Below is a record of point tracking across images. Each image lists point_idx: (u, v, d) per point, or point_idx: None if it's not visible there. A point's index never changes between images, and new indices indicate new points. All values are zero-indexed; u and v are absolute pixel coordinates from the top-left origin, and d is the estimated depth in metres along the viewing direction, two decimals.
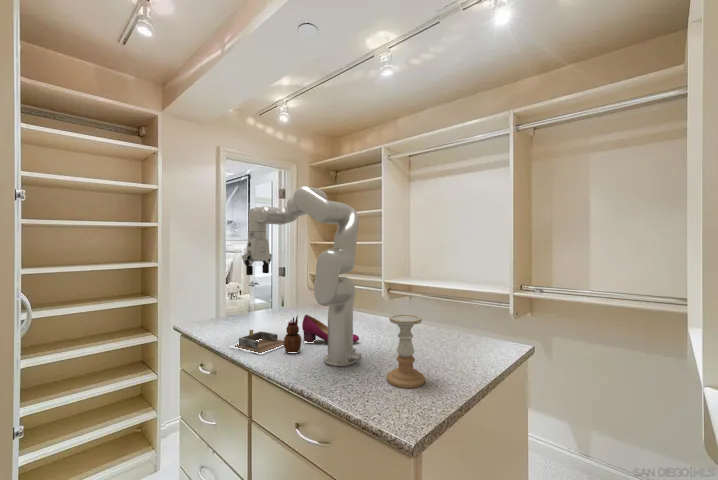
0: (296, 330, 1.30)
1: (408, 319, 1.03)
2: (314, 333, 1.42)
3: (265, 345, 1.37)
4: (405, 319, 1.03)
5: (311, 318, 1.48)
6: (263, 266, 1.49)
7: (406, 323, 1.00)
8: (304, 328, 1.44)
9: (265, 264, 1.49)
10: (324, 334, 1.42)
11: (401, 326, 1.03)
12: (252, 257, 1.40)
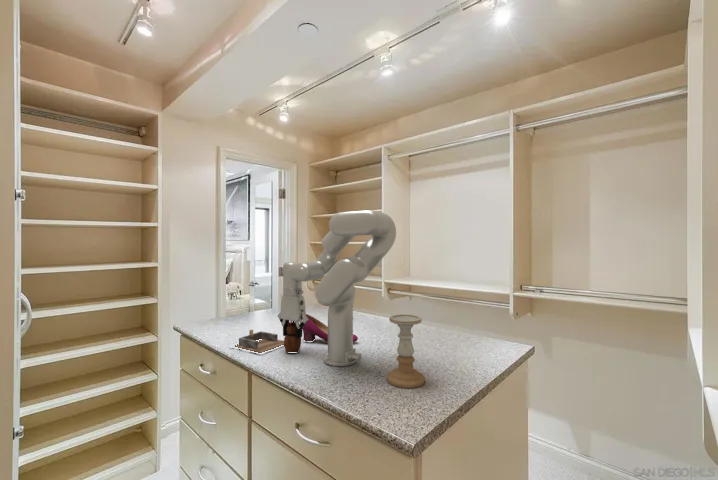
0: None
1: (408, 319, 1.03)
2: (313, 332, 1.43)
3: (265, 345, 1.37)
4: (405, 319, 1.03)
5: (311, 317, 1.49)
6: (285, 328, 1.33)
7: (406, 323, 1.00)
8: (303, 327, 1.45)
9: (287, 325, 1.34)
10: (323, 333, 1.42)
11: (401, 326, 1.03)
12: None
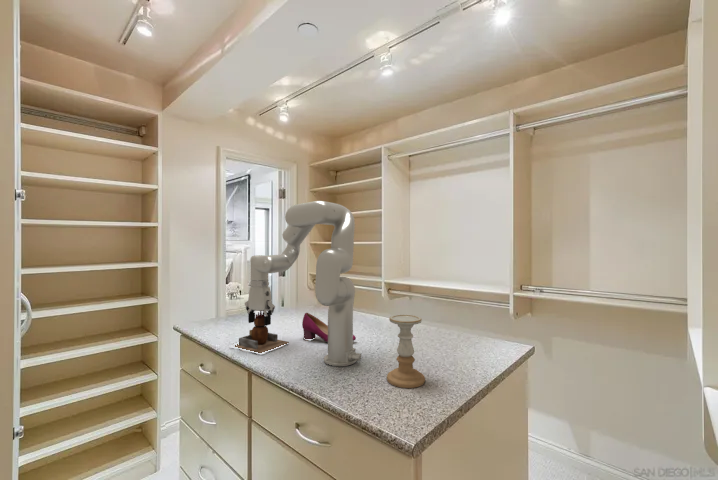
0: (262, 322, 1.38)
1: (408, 319, 1.03)
2: (312, 331, 1.46)
3: (265, 345, 1.37)
4: (405, 319, 1.03)
5: (311, 316, 1.51)
6: (250, 315, 1.42)
7: (406, 323, 1.00)
8: (303, 325, 1.48)
9: (252, 313, 1.43)
10: (321, 332, 1.44)
11: (401, 326, 1.03)
12: None
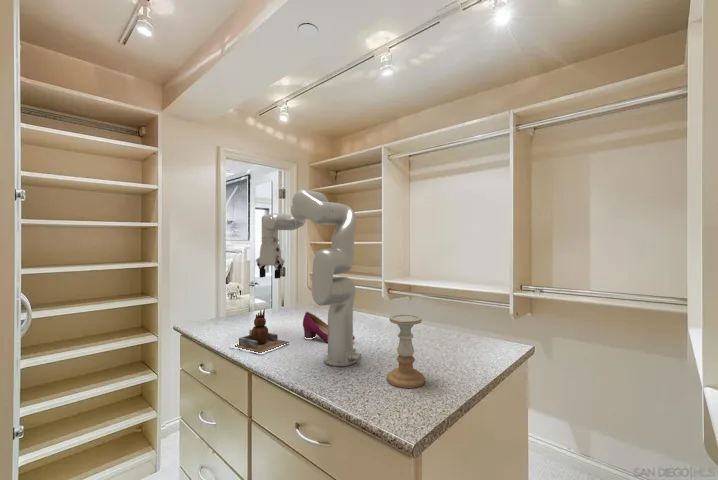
0: (262, 322, 1.38)
1: (408, 319, 1.03)
2: (312, 330, 1.47)
3: (265, 345, 1.37)
4: (405, 319, 1.03)
5: (312, 315, 1.53)
6: (261, 270, 1.54)
7: (406, 323, 1.00)
8: (303, 324, 1.50)
9: (263, 268, 1.55)
10: (320, 332, 1.46)
11: (401, 326, 1.03)
12: None
